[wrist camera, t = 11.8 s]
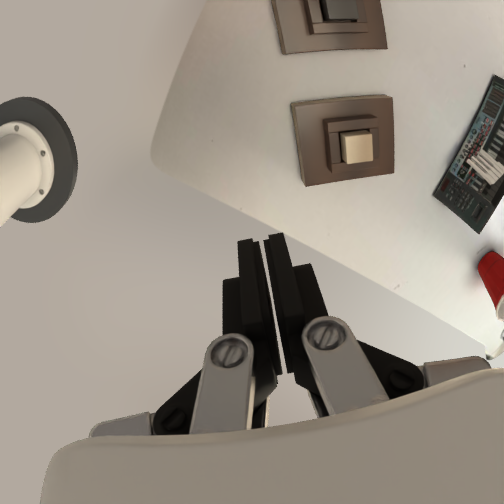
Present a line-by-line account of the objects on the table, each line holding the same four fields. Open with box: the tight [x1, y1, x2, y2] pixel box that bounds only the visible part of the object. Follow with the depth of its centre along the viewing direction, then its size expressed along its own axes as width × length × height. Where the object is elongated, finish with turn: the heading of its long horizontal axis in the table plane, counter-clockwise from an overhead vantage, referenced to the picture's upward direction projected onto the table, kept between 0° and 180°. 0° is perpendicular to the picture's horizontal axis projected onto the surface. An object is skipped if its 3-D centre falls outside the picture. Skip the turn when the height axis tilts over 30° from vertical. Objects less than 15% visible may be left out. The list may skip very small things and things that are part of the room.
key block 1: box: [271, 0, 388, 54], centre depth 24 cm, size 12×10×4 cm
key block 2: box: [291, 95, 394, 187], centre depth 34 cm, size 12×10×4 cm
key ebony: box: [321, 0, 359, 21], centre depth 22 cm, size 3×3×2 cm
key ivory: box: [340, 130, 373, 164], centre depth 32 cm, size 3×3×2 cm
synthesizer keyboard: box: [434, 75, 504, 234], centre depth 32 cm, size 22×10×10 cm
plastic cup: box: [478, 251, 504, 321], centre depth 45 cm, size 11×11×12 cm
